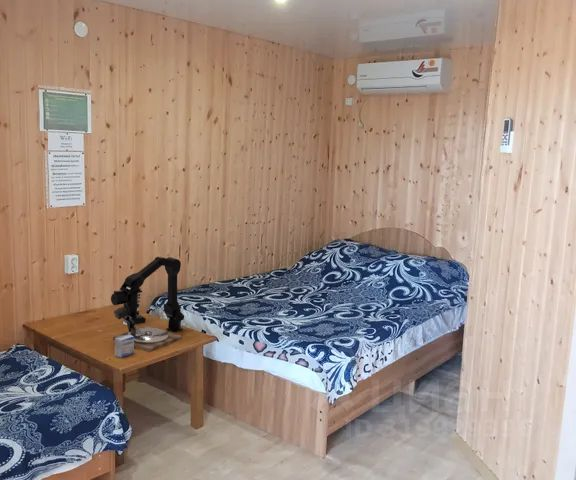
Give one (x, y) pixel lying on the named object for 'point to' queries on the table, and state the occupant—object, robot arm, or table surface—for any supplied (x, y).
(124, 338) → the medicine box
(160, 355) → the table surface
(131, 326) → the robot arm
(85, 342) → the table surface
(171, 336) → the walnut stand
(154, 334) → the dial
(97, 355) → the table surface
